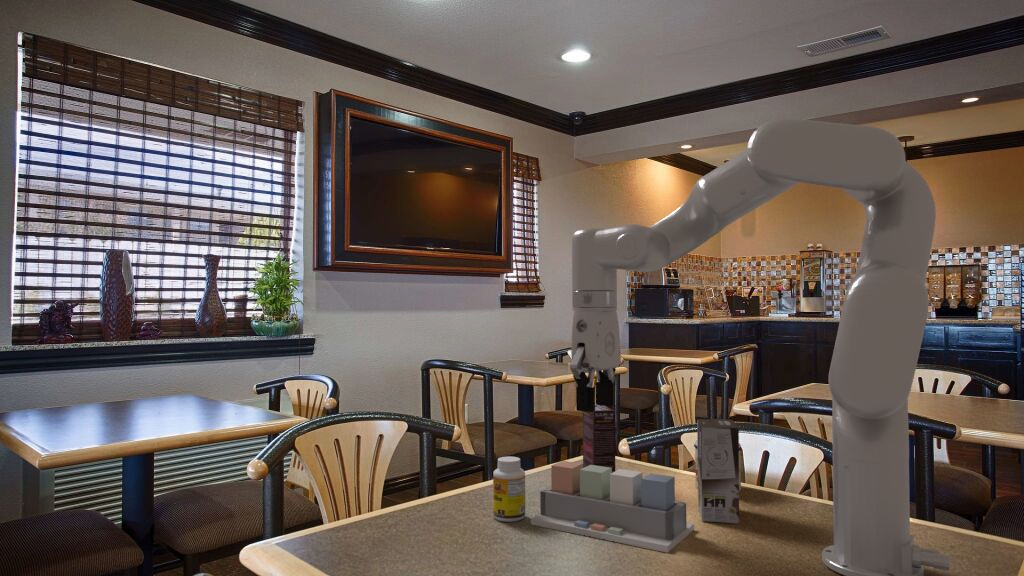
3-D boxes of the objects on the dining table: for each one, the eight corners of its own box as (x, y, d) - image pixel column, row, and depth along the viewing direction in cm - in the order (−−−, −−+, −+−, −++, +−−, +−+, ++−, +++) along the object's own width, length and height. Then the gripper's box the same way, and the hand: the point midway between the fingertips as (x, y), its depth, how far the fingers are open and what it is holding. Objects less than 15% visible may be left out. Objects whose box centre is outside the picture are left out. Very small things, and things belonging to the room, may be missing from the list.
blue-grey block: (674, 508, 109) (674, 476, 109) (665, 514, 106) (665, 482, 106) (651, 504, 111) (650, 473, 111) (641, 510, 108) (641, 478, 108)
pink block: (583, 492, 118) (582, 463, 118) (572, 498, 115) (571, 468, 115) (562, 489, 120) (562, 460, 120) (551, 494, 117) (551, 465, 117)
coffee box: (740, 524, 114) (739, 427, 114) (701, 522, 115) (700, 426, 116) (734, 508, 123) (733, 418, 123) (697, 506, 124) (696, 417, 124)
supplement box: (617, 490, 134) (616, 410, 135) (593, 491, 134) (592, 411, 134) (604, 479, 143) (603, 403, 143) (582, 480, 142) (581, 404, 143)
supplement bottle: (489, 514, 120) (489, 456, 120) (519, 511, 121) (519, 454, 122) (498, 524, 114) (498, 463, 115) (529, 521, 116) (529, 461, 116)
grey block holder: (694, 529, 111) (693, 499, 111) (667, 552, 101) (667, 519, 101) (565, 506, 124) (565, 478, 125) (530, 524, 114) (530, 494, 114)
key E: (612, 497, 115) (611, 467, 115) (601, 503, 112) (601, 472, 112) (590, 493, 117) (590, 464, 117) (580, 499, 114) (579, 469, 114)
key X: (642, 502, 112) (642, 472, 112) (632, 508, 109) (632, 477, 109) (620, 498, 114) (619, 468, 114) (610, 504, 111) (609, 474, 111)
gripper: (591, 302, 106) (592, 417, 105) (635, 301, 120) (636, 403, 120) (549, 302, 110) (550, 413, 110) (597, 301, 124) (598, 400, 124)
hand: (595, 407), depth 115 cm, fingers open, 6 cm apart
